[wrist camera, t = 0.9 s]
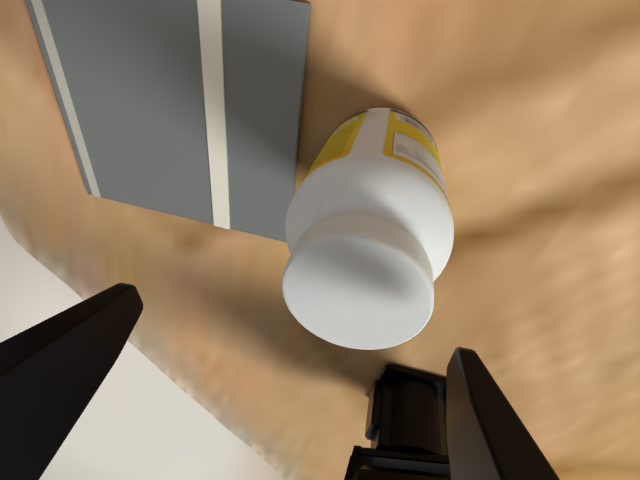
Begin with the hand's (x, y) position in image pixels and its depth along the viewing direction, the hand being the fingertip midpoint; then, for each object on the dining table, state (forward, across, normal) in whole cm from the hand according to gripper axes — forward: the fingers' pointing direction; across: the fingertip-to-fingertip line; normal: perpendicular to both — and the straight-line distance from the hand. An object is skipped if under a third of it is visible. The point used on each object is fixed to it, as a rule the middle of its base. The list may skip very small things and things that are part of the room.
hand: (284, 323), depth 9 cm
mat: (+13, +11, 0) cm, 17 cm away
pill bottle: (+13, -2, +1) cm, 13 cm away
